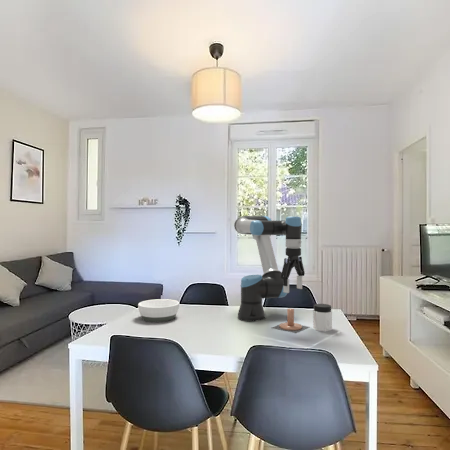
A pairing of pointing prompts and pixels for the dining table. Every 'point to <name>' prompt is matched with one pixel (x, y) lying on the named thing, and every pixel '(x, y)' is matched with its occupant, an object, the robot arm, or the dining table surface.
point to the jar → (322, 317)
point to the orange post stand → (290, 322)
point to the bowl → (158, 310)
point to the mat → (289, 330)
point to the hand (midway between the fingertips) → (293, 290)
